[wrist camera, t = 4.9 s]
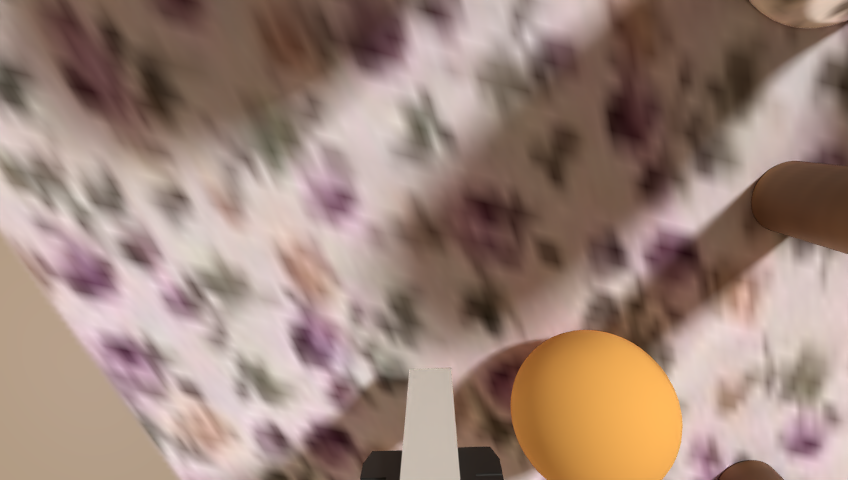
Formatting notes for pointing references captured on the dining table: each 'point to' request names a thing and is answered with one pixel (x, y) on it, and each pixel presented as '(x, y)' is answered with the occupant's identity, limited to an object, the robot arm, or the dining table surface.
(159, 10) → the dining table surface
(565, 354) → the ball
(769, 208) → the inner post
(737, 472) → the outer post
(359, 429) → the dining table surface
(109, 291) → the dining table surface
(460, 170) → the dining table surface
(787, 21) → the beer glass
